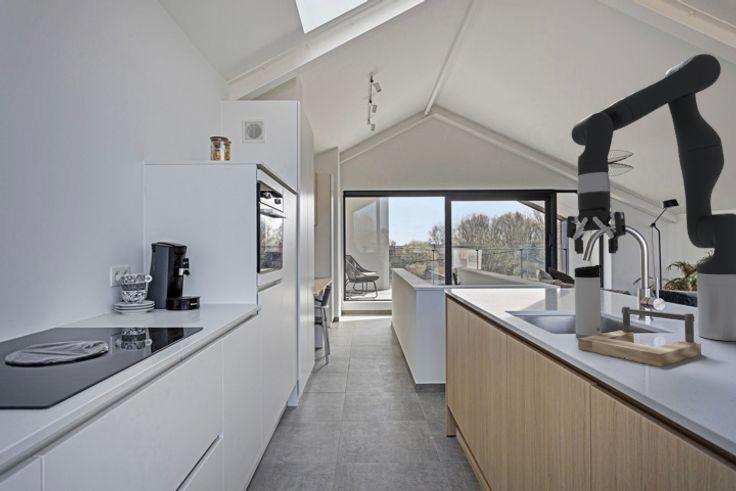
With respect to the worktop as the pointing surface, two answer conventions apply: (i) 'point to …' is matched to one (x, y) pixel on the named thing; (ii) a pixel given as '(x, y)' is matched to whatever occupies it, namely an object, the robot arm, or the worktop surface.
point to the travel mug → (587, 301)
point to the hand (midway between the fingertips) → (595, 253)
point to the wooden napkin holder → (662, 355)
